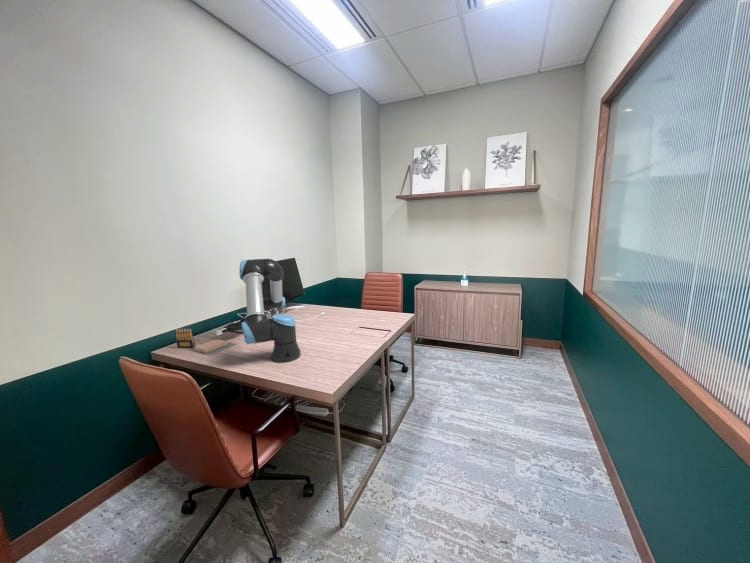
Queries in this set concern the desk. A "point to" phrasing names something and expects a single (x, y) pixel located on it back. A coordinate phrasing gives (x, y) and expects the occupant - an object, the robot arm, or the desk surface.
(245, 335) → the robot arm
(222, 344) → the pale rectangular block
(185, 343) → the ammunition clip
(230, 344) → the rubber mat
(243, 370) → the desk surface
